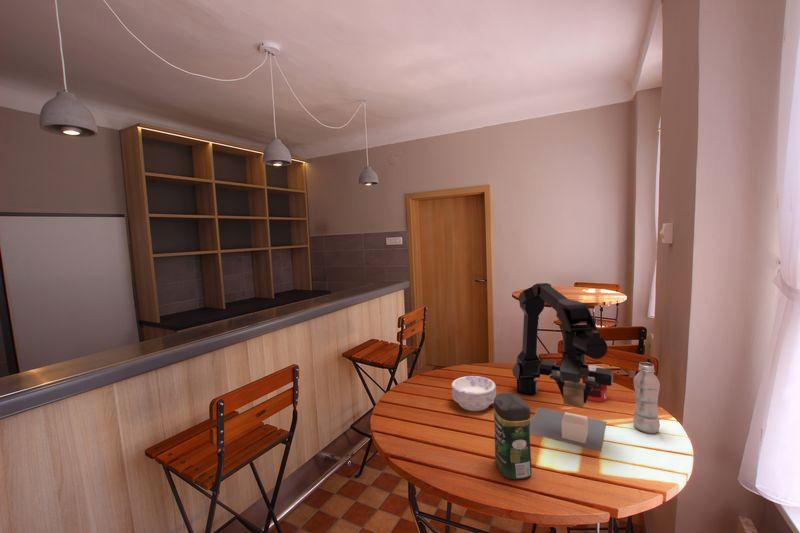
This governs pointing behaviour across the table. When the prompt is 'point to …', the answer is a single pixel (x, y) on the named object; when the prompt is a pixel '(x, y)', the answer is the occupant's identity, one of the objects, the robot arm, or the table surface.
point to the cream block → (575, 427)
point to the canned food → (596, 389)
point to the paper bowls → (473, 392)
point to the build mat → (551, 427)
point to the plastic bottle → (646, 399)
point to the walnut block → (573, 394)
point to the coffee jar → (512, 436)
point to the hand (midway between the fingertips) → (574, 400)
